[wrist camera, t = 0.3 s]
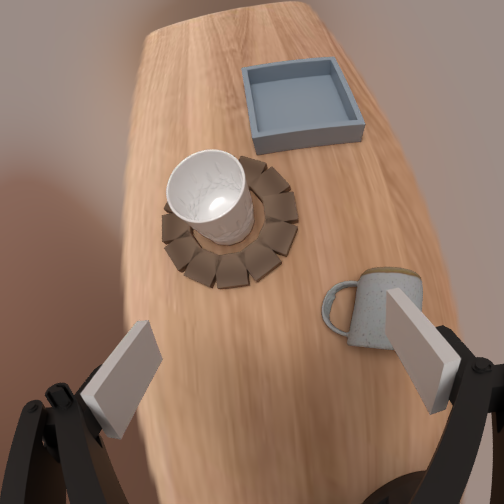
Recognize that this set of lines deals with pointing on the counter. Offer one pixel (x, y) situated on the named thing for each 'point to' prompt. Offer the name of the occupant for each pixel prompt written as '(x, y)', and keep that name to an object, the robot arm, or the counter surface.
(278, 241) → the holder ring
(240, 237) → the white cup
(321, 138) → the bin
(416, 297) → the ceramic mug
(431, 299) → the counter surface
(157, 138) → the counter surface
